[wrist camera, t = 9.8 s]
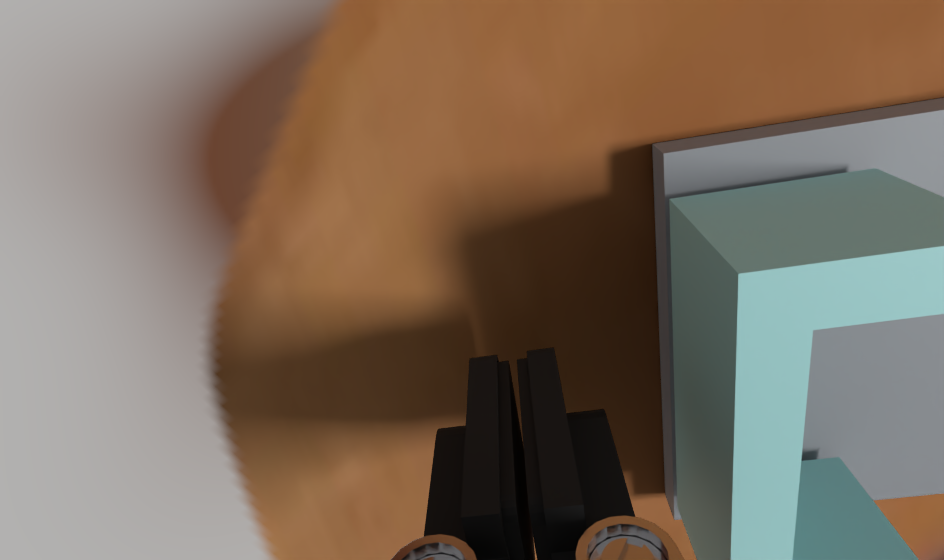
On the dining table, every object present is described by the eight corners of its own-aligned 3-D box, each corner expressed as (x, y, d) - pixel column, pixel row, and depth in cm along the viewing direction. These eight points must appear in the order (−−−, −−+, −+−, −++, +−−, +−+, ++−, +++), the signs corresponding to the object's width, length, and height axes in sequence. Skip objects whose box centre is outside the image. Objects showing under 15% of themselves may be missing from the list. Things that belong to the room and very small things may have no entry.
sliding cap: (875, 167, 10) (1030, 234, 7) (835, 490, 13) (931, 626, 10) (669, 198, 10) (738, 273, 8) (677, 506, 14) (728, 643, 11)
